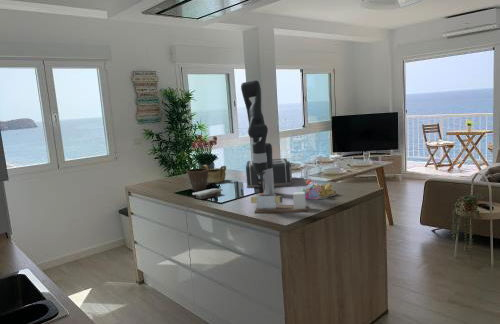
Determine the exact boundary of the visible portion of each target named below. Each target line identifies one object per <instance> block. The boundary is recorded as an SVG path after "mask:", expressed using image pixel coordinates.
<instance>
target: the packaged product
mask: <svg viewBox="0 0 500 324" xmlns="http://www.w3.org/2000/svg"><path fill="white" fill-rule="evenodd" d="M222 192H223V189H222V188H210V189H205V190H203V191H195V192H192V196H195V198H196V199H197V200H198V199H200V200H205V199H208V198H211V197H216V196H219V195H222Z"/></svg>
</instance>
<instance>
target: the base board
mask: <svg viewBox="0 0 500 324" xmlns="http://www.w3.org/2000/svg"><path fill="white" fill-rule="evenodd" d="M308 207H309V205H308V204H306V208H305V209H294V204H286V205H285V204H284V205H281V204H280V205H278V204H277V207H276V209H268V210H258V209H257V208H256V209H255V210H254V214H278V213H280V214H282V213H286V214H287V213H307V212H308Z"/></svg>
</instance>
